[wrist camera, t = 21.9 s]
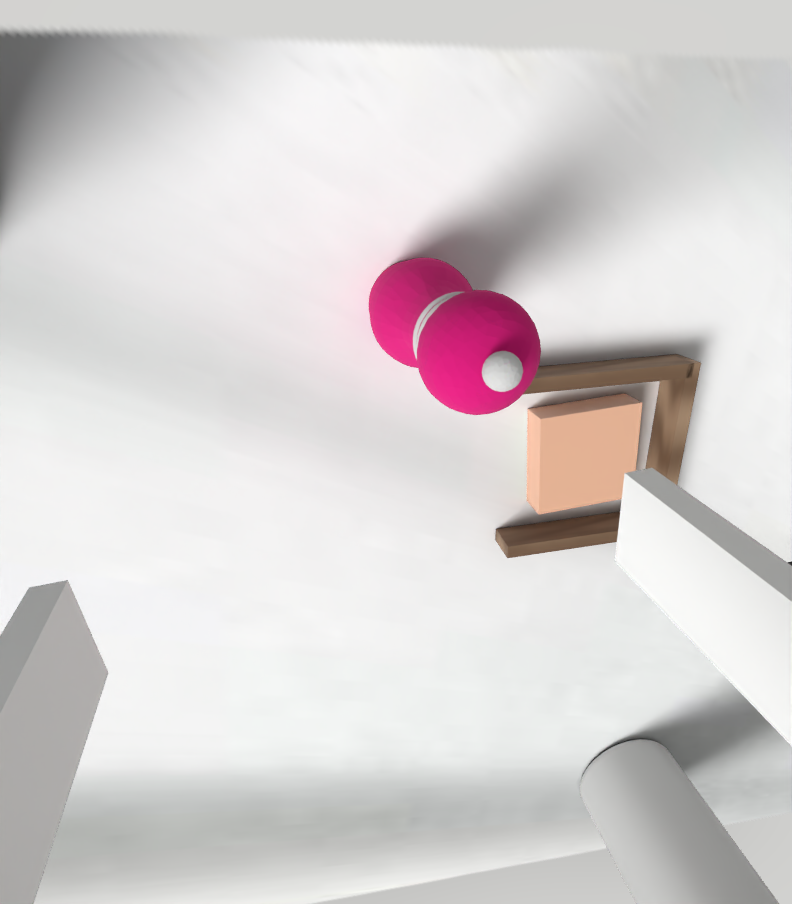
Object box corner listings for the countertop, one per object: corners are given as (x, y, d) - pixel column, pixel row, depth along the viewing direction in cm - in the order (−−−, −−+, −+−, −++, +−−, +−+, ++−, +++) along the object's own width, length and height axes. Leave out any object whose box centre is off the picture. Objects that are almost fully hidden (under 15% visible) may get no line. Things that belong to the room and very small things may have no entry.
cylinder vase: (665, 787, 73) (837, 1042, 51) (578, 816, 72) (714, 1090, 50) (669, 724, 68) (862, 977, 45) (575, 753, 67) (726, 1029, 44)
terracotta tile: (525, 407, 47) (540, 419, 44) (622, 391, 48) (642, 402, 46) (524, 498, 51) (538, 514, 48) (614, 482, 52) (632, 496, 49)
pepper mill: (417, 369, 43) (515, 481, 25) (342, 316, 41) (392, 400, 23) (474, 292, 42) (621, 354, 24) (400, 231, 39) (502, 250, 21)
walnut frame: (503, 369, 45) (517, 379, 42) (676, 354, 47) (701, 362, 45) (495, 539, 52) (507, 558, 49) (648, 518, 54) (667, 534, 51)
